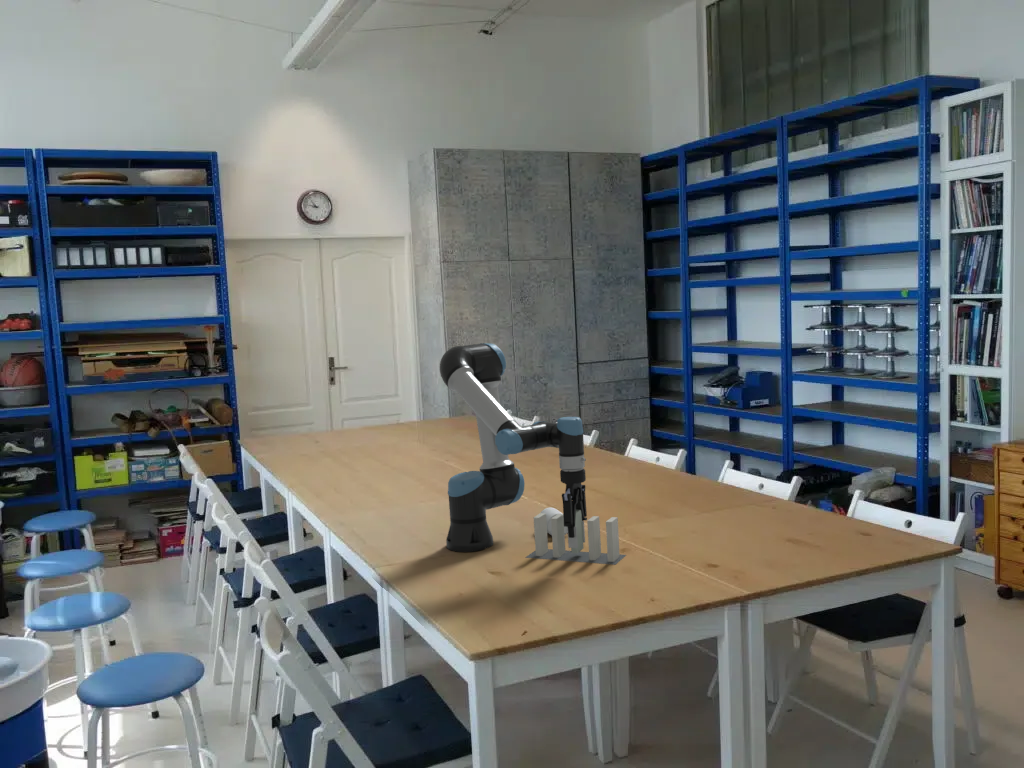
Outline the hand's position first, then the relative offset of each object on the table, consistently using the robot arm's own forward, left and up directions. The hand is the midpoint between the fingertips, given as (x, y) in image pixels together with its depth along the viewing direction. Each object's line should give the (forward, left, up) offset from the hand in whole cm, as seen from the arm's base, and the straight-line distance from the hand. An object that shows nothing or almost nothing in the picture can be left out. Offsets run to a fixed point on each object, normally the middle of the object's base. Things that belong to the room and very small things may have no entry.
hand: (576, 544), depth 275 cm
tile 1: (-12, 0, -4) cm, 12 cm away
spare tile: (0, 0, -2) cm, 2 cm away
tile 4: (+6, 0, -4) cm, 7 cm away
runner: (-1, 0, -4) cm, 4 cm away
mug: (-16, +25, -4) cm, 29 cm away
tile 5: (+11, 0, -4) cm, 12 cm away
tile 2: (-6, 0, -4) cm, 7 cm away
